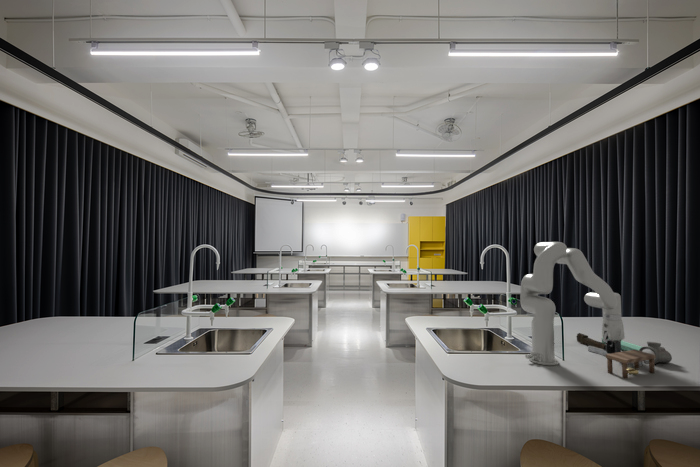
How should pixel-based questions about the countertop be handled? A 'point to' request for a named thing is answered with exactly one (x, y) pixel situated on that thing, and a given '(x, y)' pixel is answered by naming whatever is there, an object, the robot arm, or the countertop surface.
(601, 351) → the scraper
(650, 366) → the bench
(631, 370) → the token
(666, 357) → the pipe fitting
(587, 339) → the hand tool
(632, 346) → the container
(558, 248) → the robot arm
